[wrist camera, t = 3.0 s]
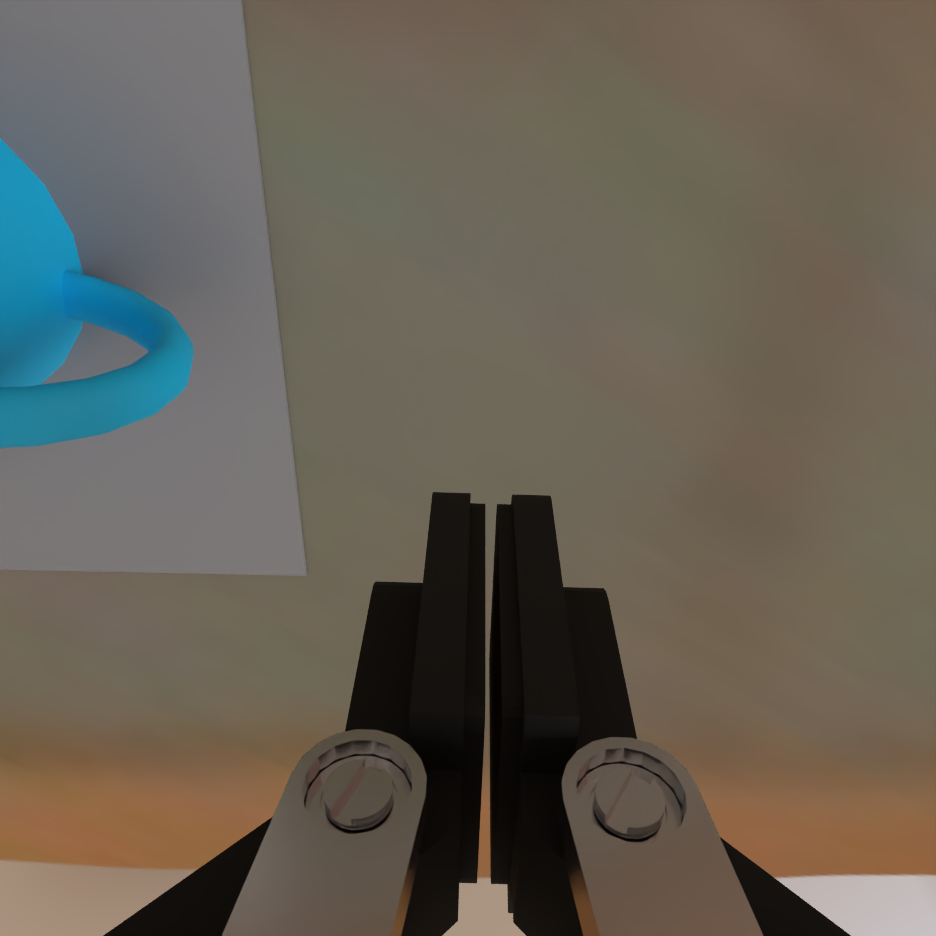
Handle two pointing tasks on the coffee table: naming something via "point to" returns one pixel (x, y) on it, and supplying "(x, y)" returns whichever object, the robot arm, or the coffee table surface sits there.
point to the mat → (154, 289)
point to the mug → (70, 328)
